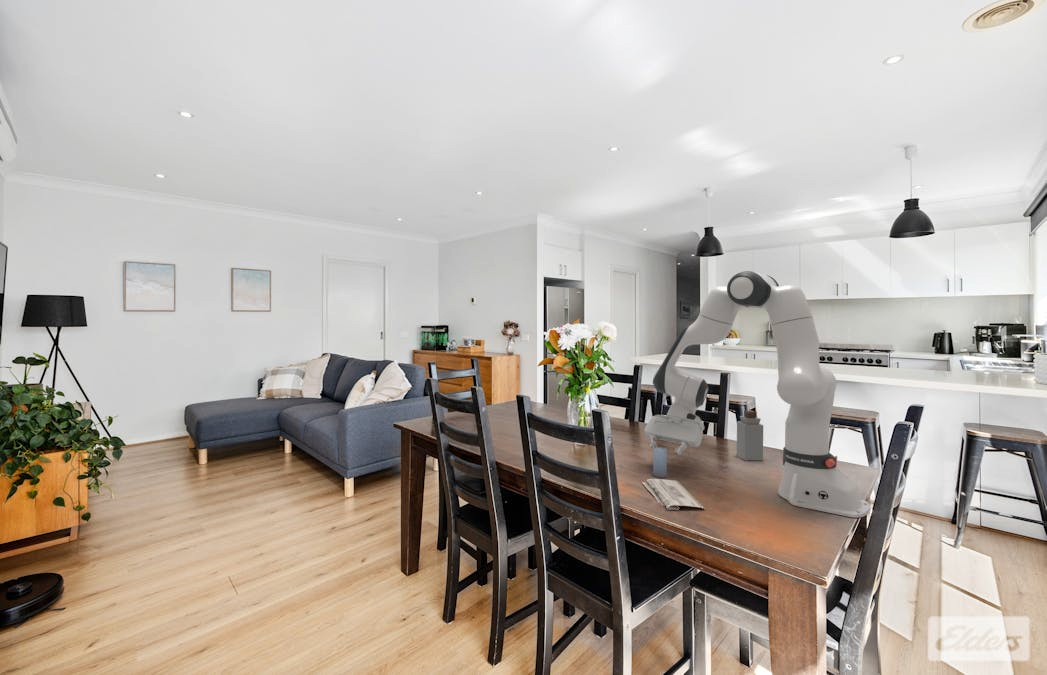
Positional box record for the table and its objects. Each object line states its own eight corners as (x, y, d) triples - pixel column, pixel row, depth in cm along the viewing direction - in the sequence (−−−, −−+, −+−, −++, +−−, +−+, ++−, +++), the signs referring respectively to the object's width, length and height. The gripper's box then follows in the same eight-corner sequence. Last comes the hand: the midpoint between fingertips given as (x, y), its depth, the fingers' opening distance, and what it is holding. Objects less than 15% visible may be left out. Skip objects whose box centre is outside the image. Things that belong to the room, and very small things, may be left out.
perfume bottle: (762, 460, 172) (763, 413, 171) (744, 460, 172) (745, 413, 171) (754, 455, 179) (754, 409, 178) (736, 455, 179) (737, 409, 178)
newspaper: (640, 484, 150) (641, 477, 150) (677, 488, 150) (678, 480, 150) (661, 513, 127) (662, 504, 127) (705, 517, 127) (706, 508, 127)
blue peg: (669, 475, 157) (669, 449, 156) (662, 478, 154) (662, 451, 153) (657, 472, 160) (657, 446, 159) (650, 475, 157) (650, 449, 157)
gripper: (650, 408, 171) (634, 439, 165) (703, 417, 156) (688, 451, 150) (656, 418, 174) (641, 449, 168) (709, 428, 159) (695, 462, 153)
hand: (664, 450), depth 159 cm, fingers open, 8 cm apart
